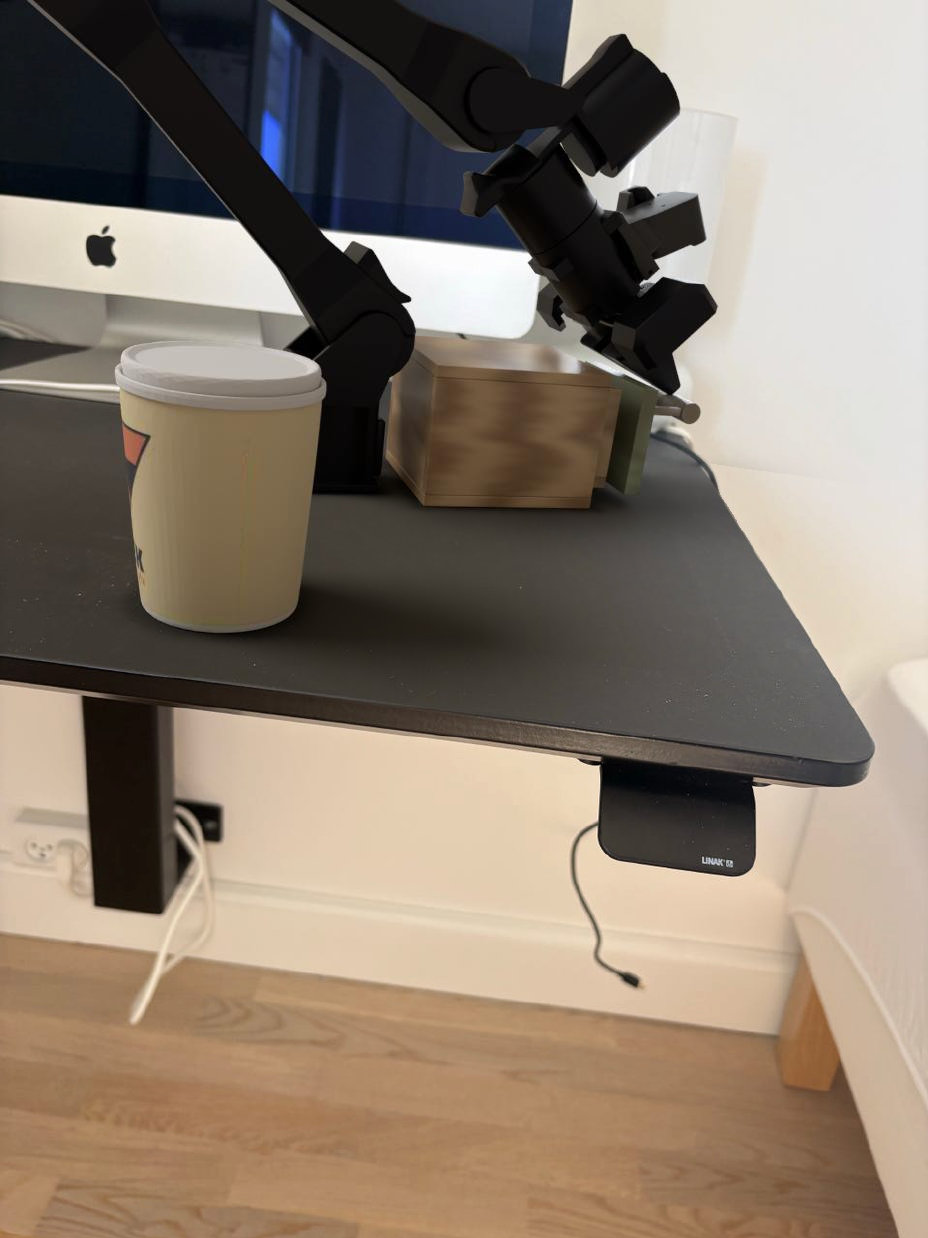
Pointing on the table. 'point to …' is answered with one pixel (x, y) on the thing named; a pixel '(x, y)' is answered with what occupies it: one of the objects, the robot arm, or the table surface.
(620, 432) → the drawer
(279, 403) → the coffee cup
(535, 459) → the cabinet
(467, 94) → the robot arm
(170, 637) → the table surface
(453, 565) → the table surface
